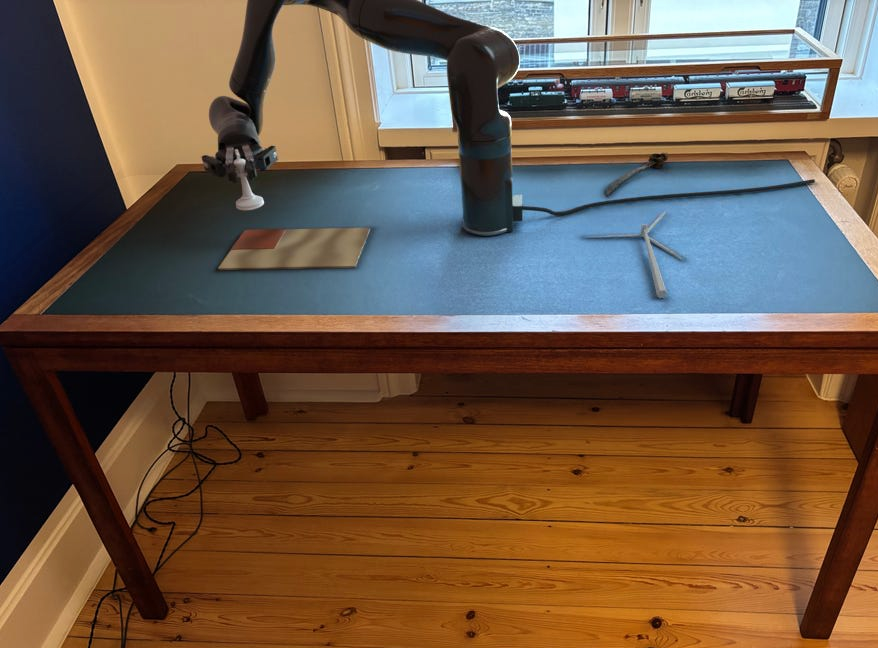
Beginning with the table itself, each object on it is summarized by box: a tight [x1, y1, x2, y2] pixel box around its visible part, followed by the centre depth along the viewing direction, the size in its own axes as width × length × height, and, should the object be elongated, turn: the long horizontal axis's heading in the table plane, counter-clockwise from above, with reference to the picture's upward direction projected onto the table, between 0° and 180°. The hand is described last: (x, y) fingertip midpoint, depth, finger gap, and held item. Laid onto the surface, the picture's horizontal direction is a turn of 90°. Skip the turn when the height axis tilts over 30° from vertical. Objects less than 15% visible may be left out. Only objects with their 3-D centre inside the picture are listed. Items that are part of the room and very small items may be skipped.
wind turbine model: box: [584, 210, 683, 299], centre depth 122 cm, size 16×2×30 cm
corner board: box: [217, 227, 372, 271], centre depth 129 cm, size 24×15×1 cm, turn 87°
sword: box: [604, 151, 669, 197], centre depth 149 cm, size 25×4×2 cm, turn 137°
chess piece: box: [233, 149, 265, 211], centre depth 126 cm, size 5×5×10 cm
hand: (242, 176), depth 123 cm, fingers closed on chess piece
